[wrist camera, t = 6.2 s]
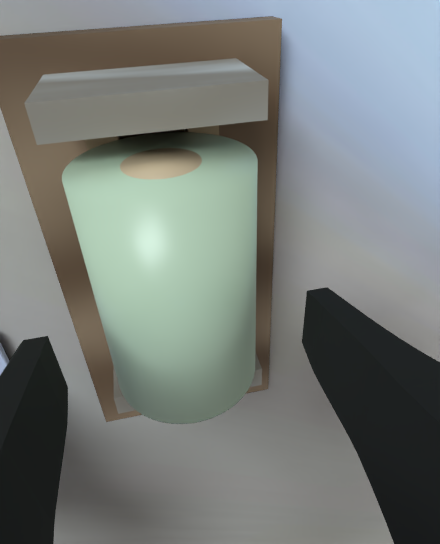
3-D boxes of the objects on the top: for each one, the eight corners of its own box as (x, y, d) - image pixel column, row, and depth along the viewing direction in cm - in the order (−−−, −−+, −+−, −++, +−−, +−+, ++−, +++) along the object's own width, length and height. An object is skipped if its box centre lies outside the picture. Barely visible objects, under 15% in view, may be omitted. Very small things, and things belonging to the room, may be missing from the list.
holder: (262, 375, 25) (289, 444, 21) (106, 406, 23) (105, 485, 20) (271, 16, 14) (327, 31, 10) (-14, 36, 13) (-63, 61, 9)
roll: (233, 308, 19) (275, 403, 14) (114, 332, 18) (123, 441, 14) (228, 123, 14) (287, 186, 10) (65, 143, 13) (55, 222, 9)
